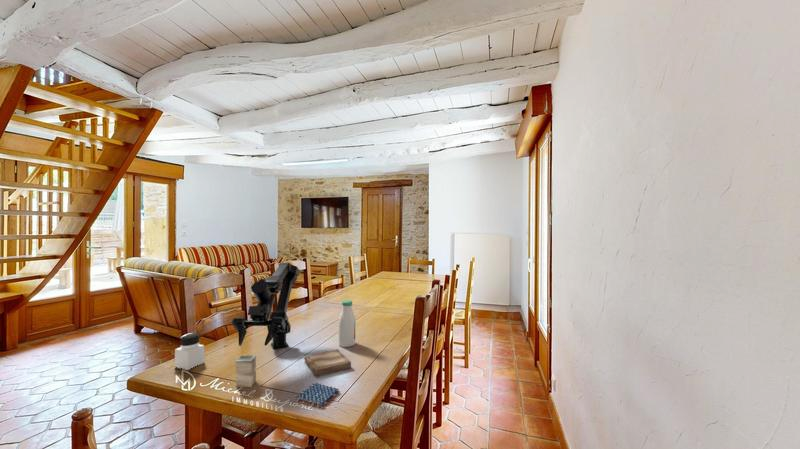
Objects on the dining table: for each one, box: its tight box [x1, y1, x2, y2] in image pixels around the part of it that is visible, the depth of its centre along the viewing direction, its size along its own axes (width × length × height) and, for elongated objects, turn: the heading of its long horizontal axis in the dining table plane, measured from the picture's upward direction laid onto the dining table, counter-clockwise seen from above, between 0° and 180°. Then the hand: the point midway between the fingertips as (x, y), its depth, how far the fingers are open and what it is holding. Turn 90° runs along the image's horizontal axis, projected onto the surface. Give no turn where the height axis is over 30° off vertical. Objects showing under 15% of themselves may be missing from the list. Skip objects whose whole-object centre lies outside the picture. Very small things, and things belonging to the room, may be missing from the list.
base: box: [304, 349, 352, 378], centre depth 126 cm, size 14×14×3 cm
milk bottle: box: [337, 300, 356, 348], centre depth 147 cm, size 8×8×20 cm
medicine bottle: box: [174, 332, 206, 371], centre depth 125 cm, size 7×7×12 cm
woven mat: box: [295, 382, 341, 409], centre depth 103 cm, size 10×11×2 cm
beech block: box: [235, 355, 257, 388], centre depth 111 cm, size 4×5×9 cm
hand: (252, 345), depth 116 cm, fingers open, 9 cm apart
